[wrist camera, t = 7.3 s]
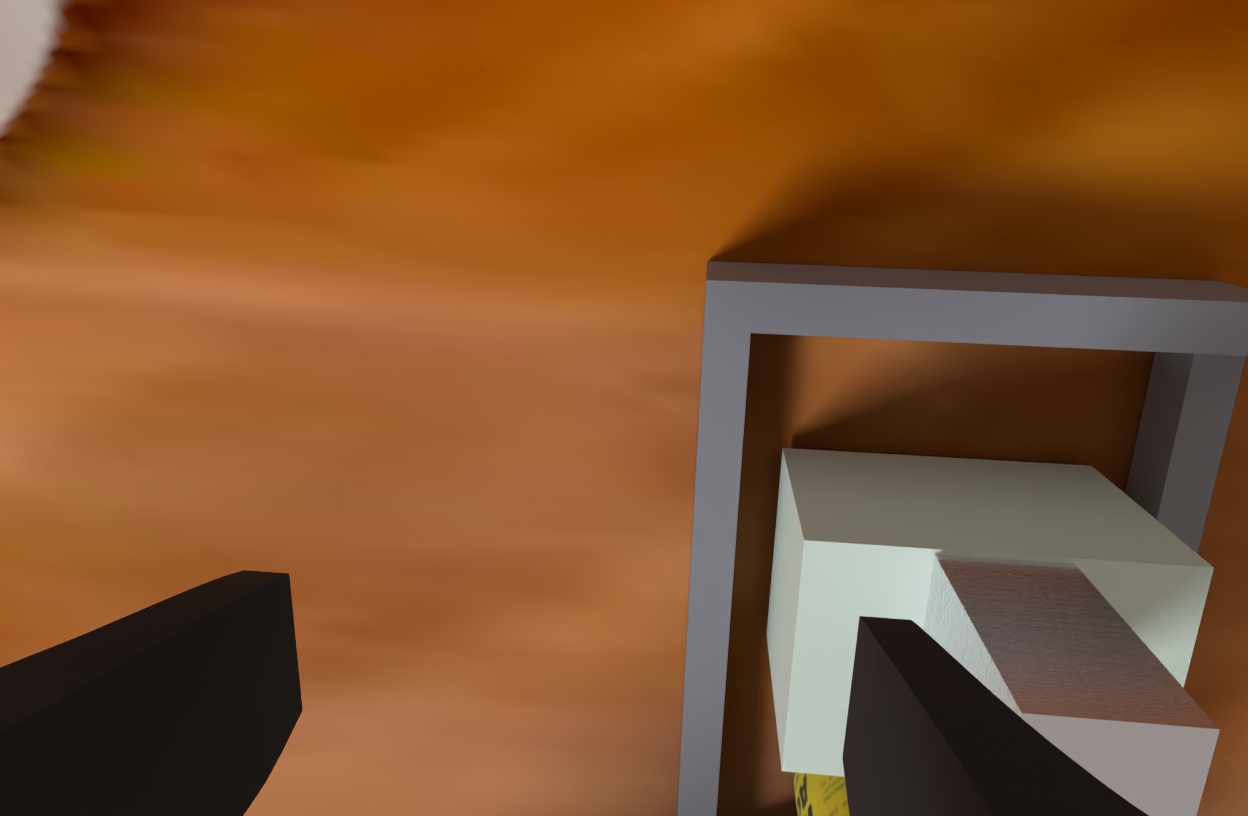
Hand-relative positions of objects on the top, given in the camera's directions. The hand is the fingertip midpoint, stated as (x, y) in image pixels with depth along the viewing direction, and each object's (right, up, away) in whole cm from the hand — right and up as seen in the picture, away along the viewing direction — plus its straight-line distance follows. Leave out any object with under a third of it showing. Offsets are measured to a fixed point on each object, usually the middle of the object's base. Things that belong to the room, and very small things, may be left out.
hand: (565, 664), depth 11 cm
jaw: (+8, 0, +10) cm, 13 cm away
